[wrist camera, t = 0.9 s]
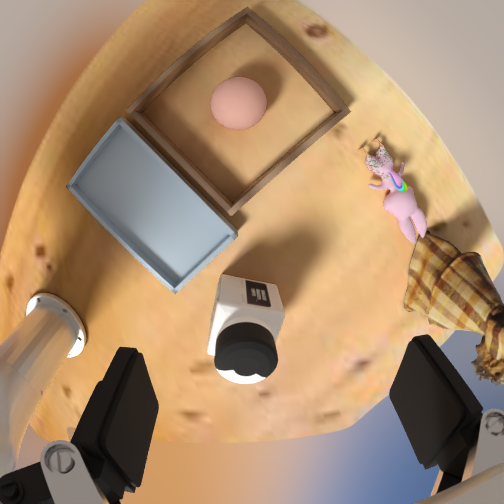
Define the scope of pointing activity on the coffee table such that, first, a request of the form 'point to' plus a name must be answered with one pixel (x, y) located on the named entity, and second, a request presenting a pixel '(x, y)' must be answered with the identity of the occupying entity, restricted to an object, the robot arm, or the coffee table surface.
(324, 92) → the wooden box frame
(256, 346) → the container
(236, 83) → the ball
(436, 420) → the robot arm
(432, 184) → the coffee table surface
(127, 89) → the coffee table surface
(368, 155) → the pink plastic figure
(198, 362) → the coffee table surface
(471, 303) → the plaid cloth bag
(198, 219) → the tray
